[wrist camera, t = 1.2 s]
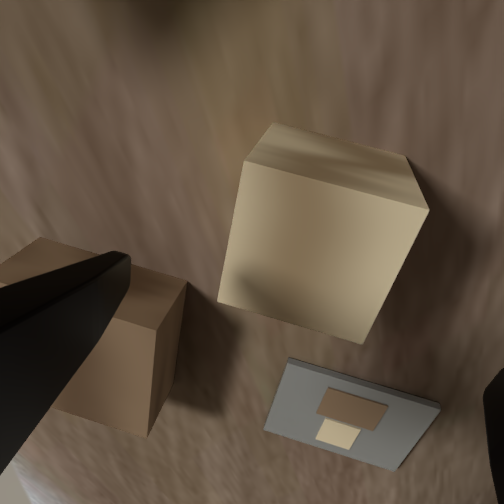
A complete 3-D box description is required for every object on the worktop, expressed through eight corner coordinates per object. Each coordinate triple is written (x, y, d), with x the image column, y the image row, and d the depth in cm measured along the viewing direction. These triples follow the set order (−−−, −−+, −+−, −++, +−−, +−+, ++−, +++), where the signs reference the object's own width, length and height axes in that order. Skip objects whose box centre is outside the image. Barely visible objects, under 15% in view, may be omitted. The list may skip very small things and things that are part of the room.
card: (439, 403, 20) (441, 411, 19) (393, 465, 23) (394, 473, 22) (288, 357, 20) (287, 364, 20) (264, 423, 23) (263, 431, 23)
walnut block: (189, 277, 19) (156, 330, 16) (175, 379, 24) (146, 438, 20) (43, 234, 20) (-18, 276, 17) (55, 341, 24) (8, 392, 21)
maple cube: (404, 154, 14) (429, 210, 10) (358, 264, 17) (362, 344, 13) (273, 121, 14) (244, 160, 10) (248, 233, 17) (217, 301, 13)
